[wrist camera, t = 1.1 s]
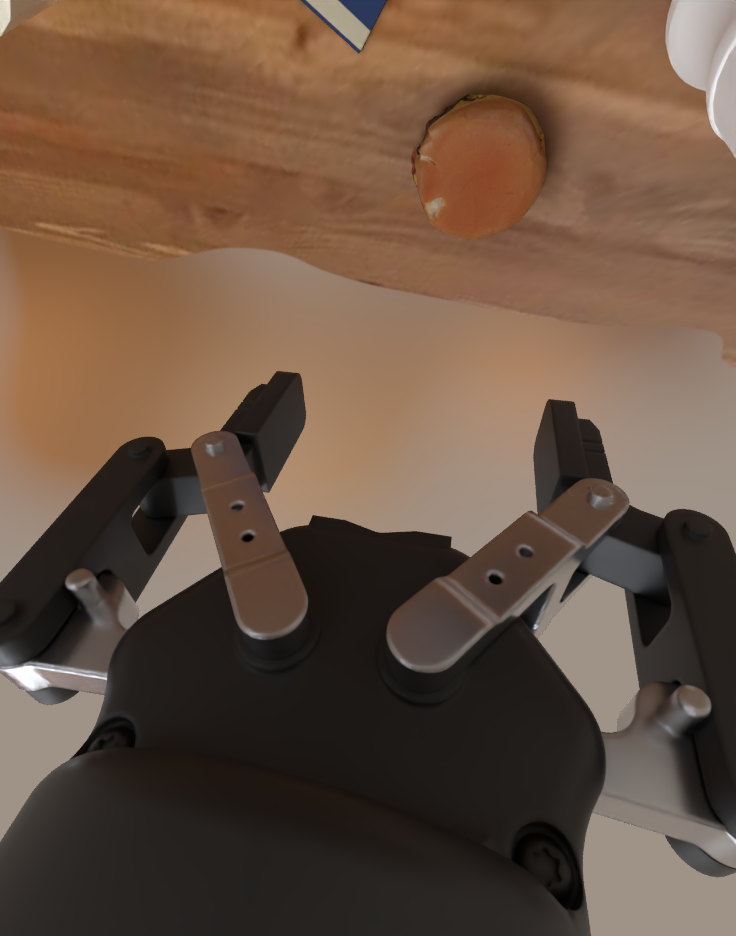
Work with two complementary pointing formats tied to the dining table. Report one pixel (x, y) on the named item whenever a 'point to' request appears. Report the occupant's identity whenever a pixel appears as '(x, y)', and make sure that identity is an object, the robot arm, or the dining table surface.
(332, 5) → the placemat
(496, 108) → the burger
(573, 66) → the dining table surface
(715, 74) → the water bottle
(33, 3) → the cup
